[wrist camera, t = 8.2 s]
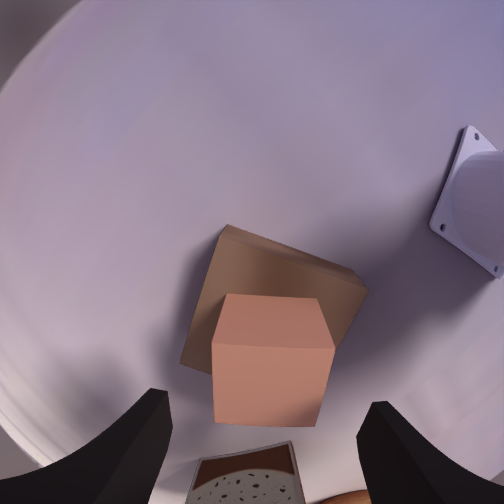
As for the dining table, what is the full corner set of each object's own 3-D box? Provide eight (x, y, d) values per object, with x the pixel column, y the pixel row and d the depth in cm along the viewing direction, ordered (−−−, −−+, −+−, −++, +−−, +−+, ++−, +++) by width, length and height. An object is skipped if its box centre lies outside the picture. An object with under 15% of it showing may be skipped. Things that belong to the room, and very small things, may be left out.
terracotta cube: (316, 298, 14) (335, 348, 10) (305, 368, 15) (314, 426, 11) (226, 293, 14) (211, 342, 10) (225, 364, 16) (214, 422, 11)
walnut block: (350, 268, 17) (368, 289, 14) (300, 367, 20) (305, 399, 16) (228, 223, 17) (219, 235, 14) (191, 333, 19) (179, 363, 16)
